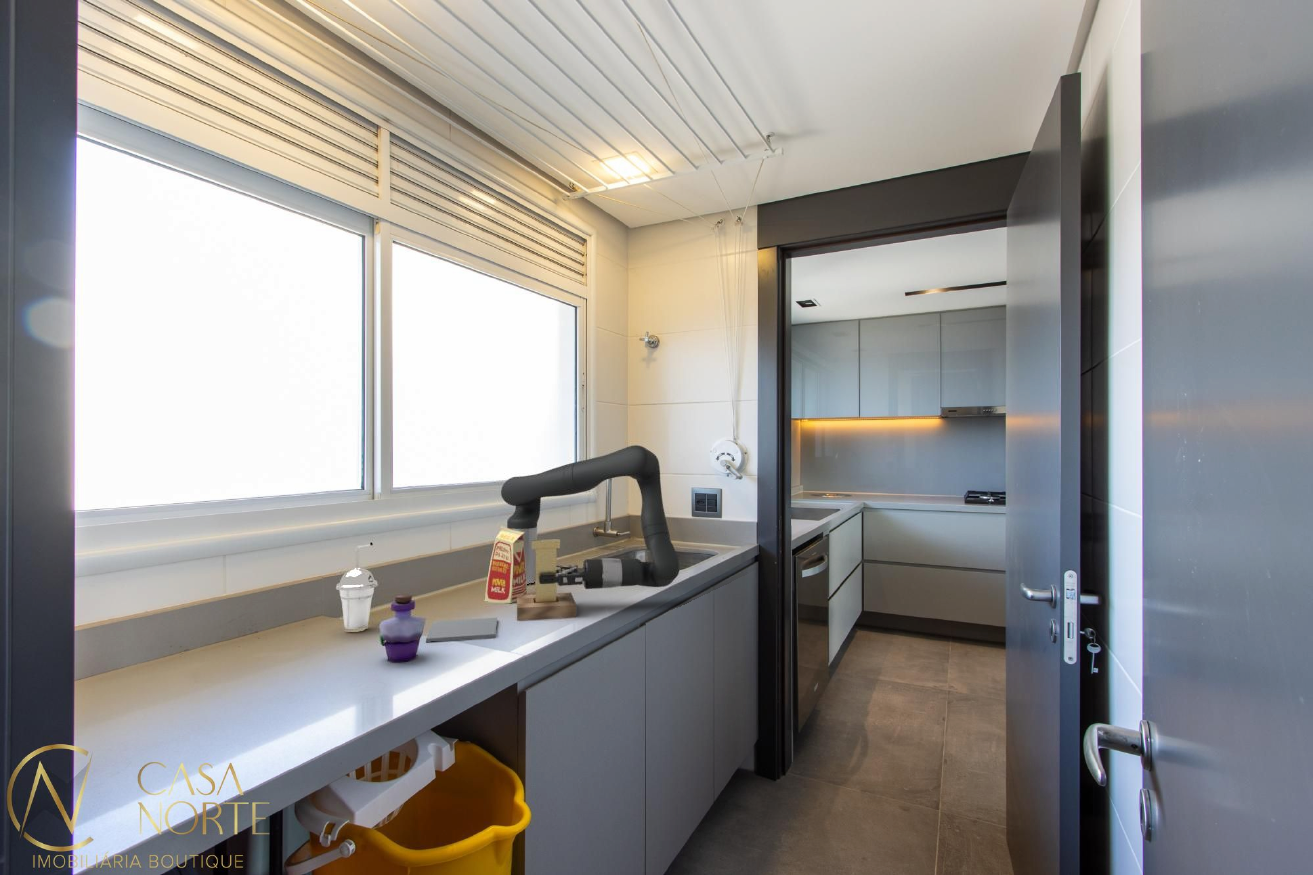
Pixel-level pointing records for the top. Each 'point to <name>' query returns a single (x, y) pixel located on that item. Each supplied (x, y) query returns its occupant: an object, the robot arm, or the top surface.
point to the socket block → (545, 607)
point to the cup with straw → (356, 594)
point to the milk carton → (507, 568)
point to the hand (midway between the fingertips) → (538, 576)
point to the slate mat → (463, 629)
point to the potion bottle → (402, 631)
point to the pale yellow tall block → (545, 568)
